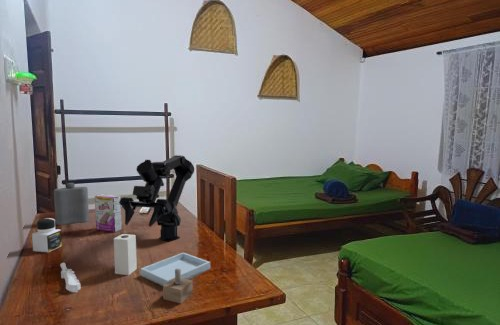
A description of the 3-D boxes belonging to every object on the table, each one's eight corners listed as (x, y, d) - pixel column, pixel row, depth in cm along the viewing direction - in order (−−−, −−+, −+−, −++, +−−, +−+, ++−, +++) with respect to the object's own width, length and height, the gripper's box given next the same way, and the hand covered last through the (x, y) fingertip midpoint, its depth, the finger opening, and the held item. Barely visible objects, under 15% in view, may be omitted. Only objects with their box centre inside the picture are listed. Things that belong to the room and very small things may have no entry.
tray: (183, 258, 124) (183, 252, 123) (210, 269, 115) (210, 262, 115) (140, 275, 110) (140, 268, 109) (167, 288, 101) (167, 280, 101)
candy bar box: (95, 230, 157) (93, 195, 155) (103, 227, 162) (101, 193, 160) (114, 232, 153) (113, 197, 152) (122, 229, 158) (121, 195, 156)
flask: (88, 218, 176) (86, 181, 174) (89, 221, 171) (87, 183, 169) (55, 223, 168) (53, 183, 166) (55, 226, 163) (53, 185, 161)
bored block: (123, 267, 116) (122, 233, 115) (136, 268, 115) (135, 234, 114) (115, 273, 111) (113, 238, 110) (128, 275, 110) (127, 239, 109)
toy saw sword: (70, 266, 117) (82, 291, 99) (57, 269, 115) (67, 295, 97) (70, 259, 117) (81, 283, 99) (57, 262, 115) (66, 287, 97)
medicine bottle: (48, 252, 129) (46, 222, 128) (32, 251, 131) (30, 221, 129) (62, 246, 136) (60, 217, 135) (47, 245, 137) (45, 216, 136)
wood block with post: (175, 289, 100) (175, 264, 100) (192, 293, 98) (192, 267, 97) (163, 299, 95) (162, 272, 94) (181, 303, 93) (180, 276, 92)
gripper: (120, 176, 125) (103, 212, 115) (167, 177, 121) (153, 215, 112) (132, 192, 133) (117, 227, 124) (176, 194, 130) (164, 231, 120)
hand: (137, 225), depth 120 cm, fingers open, 9 cm apart
